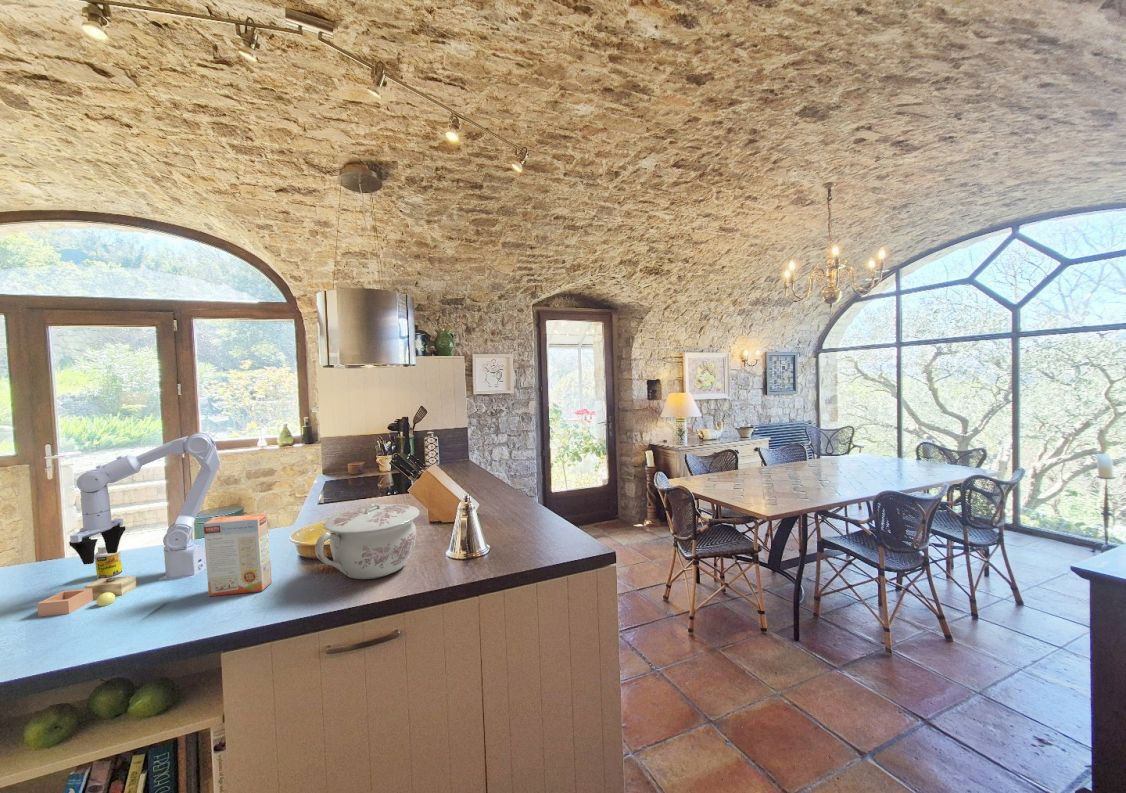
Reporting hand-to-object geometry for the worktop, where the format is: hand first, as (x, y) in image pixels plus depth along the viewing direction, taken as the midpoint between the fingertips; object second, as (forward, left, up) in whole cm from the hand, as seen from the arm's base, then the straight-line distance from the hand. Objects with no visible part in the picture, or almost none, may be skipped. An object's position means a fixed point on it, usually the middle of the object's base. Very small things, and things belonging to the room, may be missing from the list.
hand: (100, 558), depth 131 cm
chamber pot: (-75, +1, -10) cm, 76 cm away
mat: (-4, +3, -10) cm, 11 cm away
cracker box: (-40, +7, -10) cm, 42 cm away
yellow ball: (-8, +10, -10) cm, 16 cm away
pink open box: (+1, +10, -10) cm, 14 cm away
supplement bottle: (+7, -11, -10) cm, 16 cm away
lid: (-4, +3, -9) cm, 11 cm away
